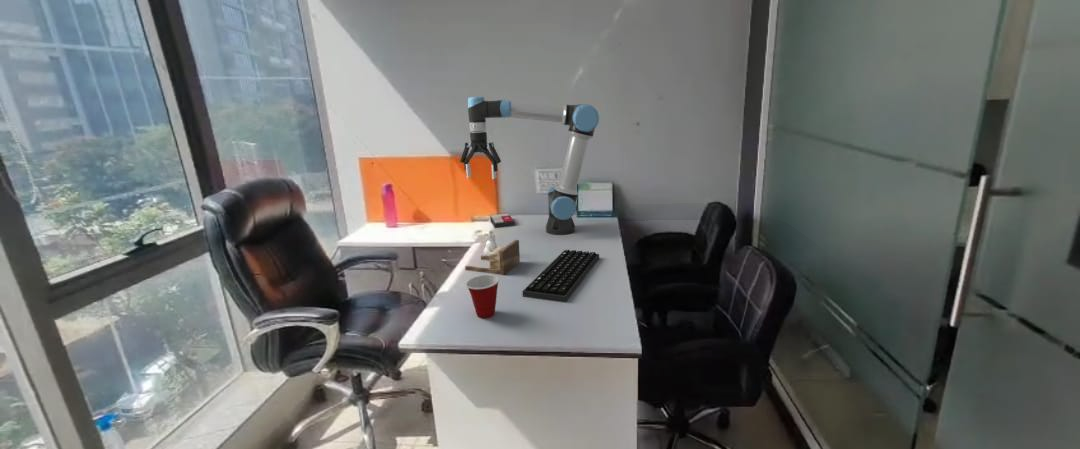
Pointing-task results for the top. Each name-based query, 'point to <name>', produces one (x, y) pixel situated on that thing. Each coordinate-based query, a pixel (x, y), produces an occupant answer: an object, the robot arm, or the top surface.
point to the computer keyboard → (562, 276)
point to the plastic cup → (483, 294)
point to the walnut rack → (502, 260)
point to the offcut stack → (495, 259)
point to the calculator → (502, 220)
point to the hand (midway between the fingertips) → (481, 178)
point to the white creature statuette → (490, 243)
